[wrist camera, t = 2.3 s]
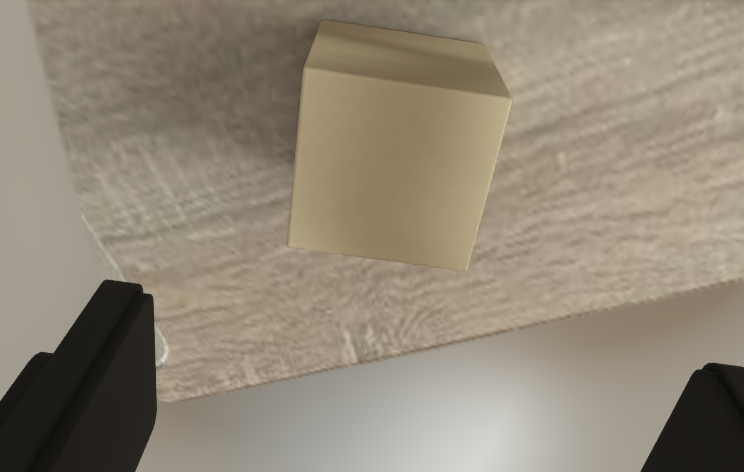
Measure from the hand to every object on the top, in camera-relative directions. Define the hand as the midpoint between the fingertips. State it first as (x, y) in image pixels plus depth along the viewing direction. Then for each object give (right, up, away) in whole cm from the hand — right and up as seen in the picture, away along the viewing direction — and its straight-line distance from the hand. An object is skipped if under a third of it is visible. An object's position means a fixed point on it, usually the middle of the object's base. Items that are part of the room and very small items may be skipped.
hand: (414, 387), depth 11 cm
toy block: (0, +7, +12) cm, 14 cm away
